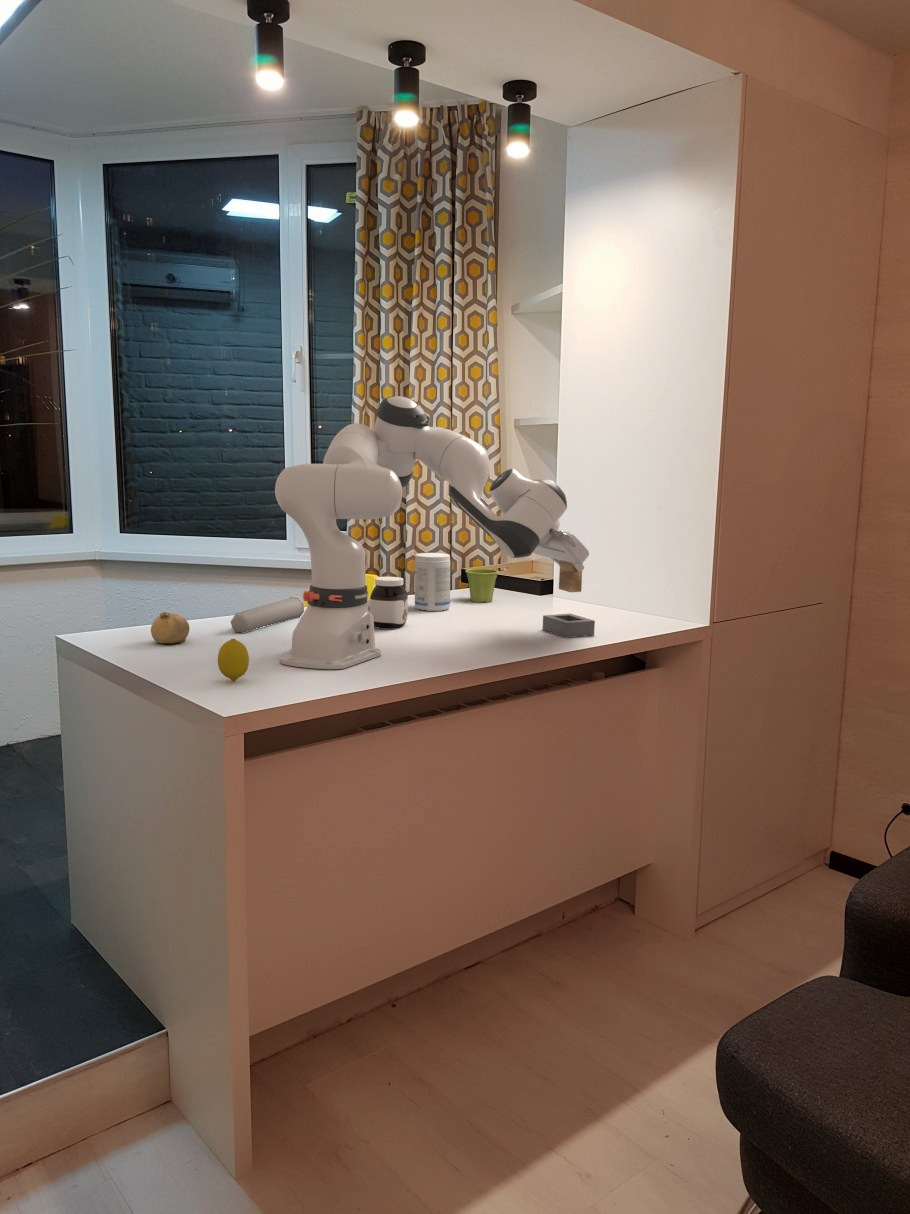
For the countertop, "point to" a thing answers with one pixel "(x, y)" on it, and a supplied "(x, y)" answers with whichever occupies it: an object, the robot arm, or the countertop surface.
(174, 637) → the onion
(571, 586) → the wooden block
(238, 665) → the lemon
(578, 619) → the grey socket block
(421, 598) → the supplement tub
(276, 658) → the countertop surface
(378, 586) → the spread jar
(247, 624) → the tube
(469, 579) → the plant pot
